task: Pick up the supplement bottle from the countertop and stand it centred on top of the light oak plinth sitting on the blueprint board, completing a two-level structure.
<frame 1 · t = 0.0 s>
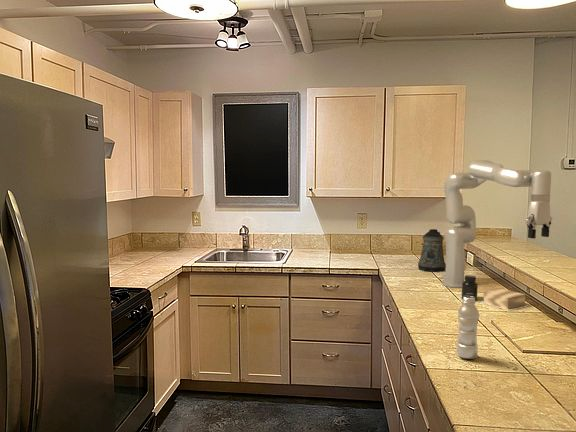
hand: (538, 237, 201), 31 cm above the worktop, tool pointing down, fingers open, 9 cm apart
plastic bottle: (466, 358, 147), on the worktop
dark grey bell: (431, 269, 285), on the worktop
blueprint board: (503, 306, 204), on the worktop
supplement bottle: (469, 301, 212), on the worktop
oak plinth: (504, 304, 204), point 1 cm above the worktop, touching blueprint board
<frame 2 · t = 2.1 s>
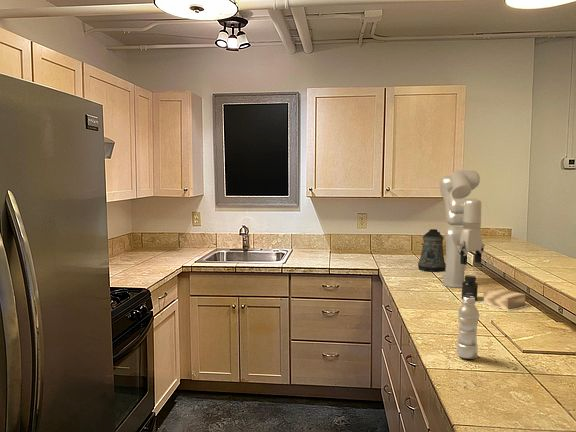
hand: (470, 263, 210), 18 cm above the worktop, tool pointing down, fingers open, 9 cm apart
nothing on the worktop moved.
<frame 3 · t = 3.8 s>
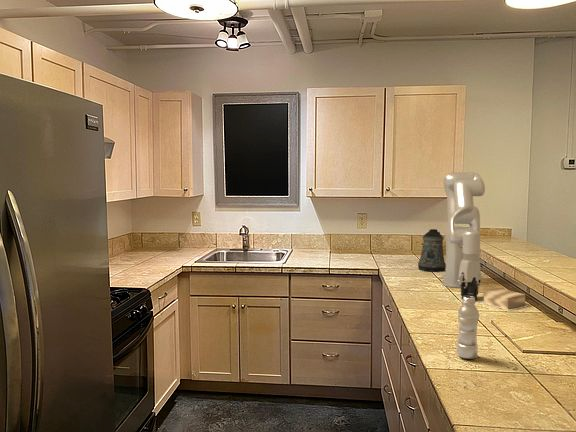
hand: (469, 294, 212), 3 cm above the worktop, tool pointing down, fingers closed on supplement bottle, 6 cm apart
supplement bottle: (469, 301, 212), on the worktop, touching gripper
everything else where it was.
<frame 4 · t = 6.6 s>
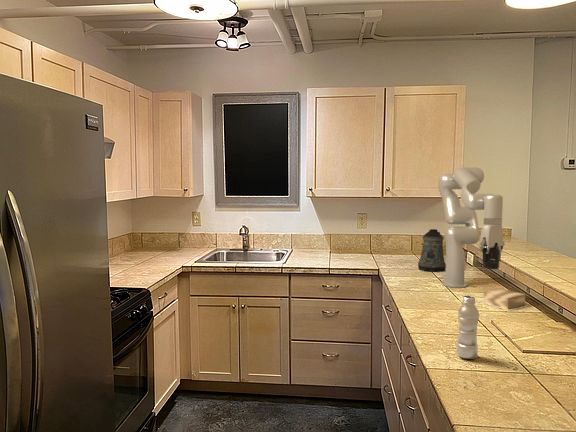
hand: (491, 261, 206), 20 cm above the worktop, tool pointing down, fingers closed on supplement bottle, 6 cm apart
supplement bottle: (491, 268, 206), point 17 cm above the worktop, touching gripper
everything else where it was.
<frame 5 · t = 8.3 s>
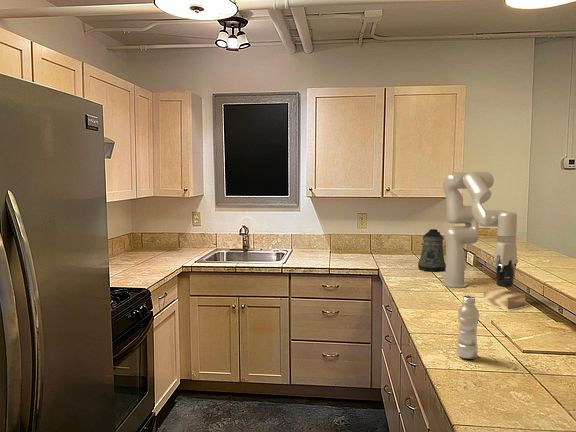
hand: (505, 279, 203), 12 cm above the worktop, tool pointing down, fingers closed on supplement bottle, 6 cm apart
supplement bottle: (504, 286, 203), point 9 cm above the worktop, touching gripper
everything else where it was.
when the fingers open (10 cm above the worktop, at t = 9.6 s): supplement bottle drops 1 cm, resting on oak plinth.
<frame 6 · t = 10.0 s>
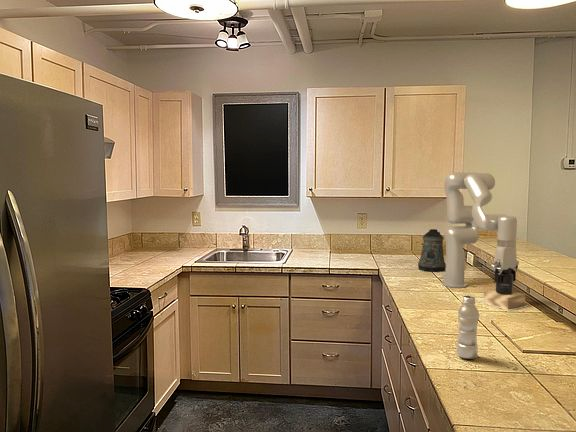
hand: (504, 281, 203), 11 cm above the worktop, tool pointing down, fingers open, 9 cm apart
supplement bottle: (504, 293, 204), point 6 cm above the worktop, touching oak plinth
oak plinth: (504, 304, 204), point 1 cm above the worktop, touching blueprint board, supplement bottle
everything else where it was.
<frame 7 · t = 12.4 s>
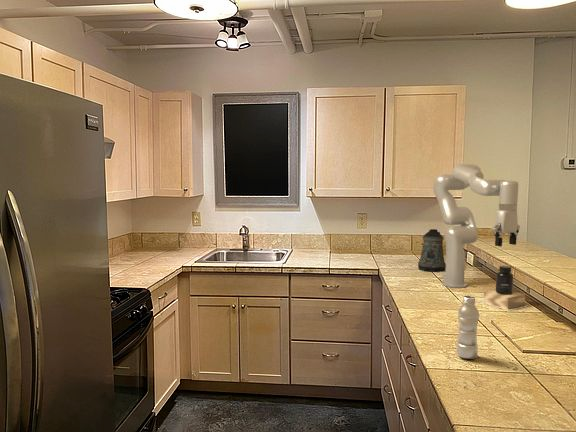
hand: (505, 245, 208), 27 cm above the worktop, tool pointing down, fingers open, 9 cm apart
nothing on the worktop moved.
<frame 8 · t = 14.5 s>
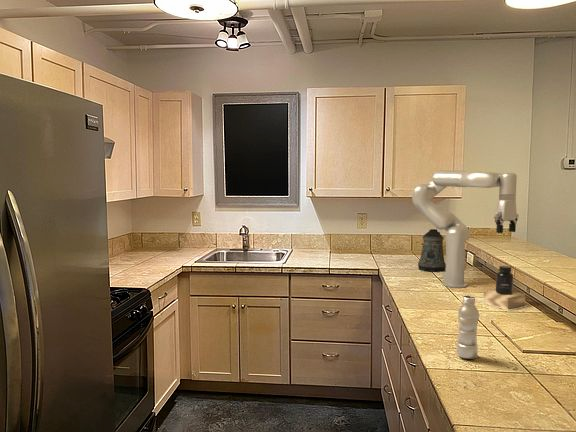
hand: (505, 232, 226), 30 cm above the worktop, tool pointing down, fingers open, 9 cm apart
nothing on the worktop moved.
at the end: supplement bottle 0.2 cm off-centre on the oak plinth, point 4.8 cm above the oak plinth's base; supplement bottle tilted 0°; oak plinth moved 0.0 cm from its start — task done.
